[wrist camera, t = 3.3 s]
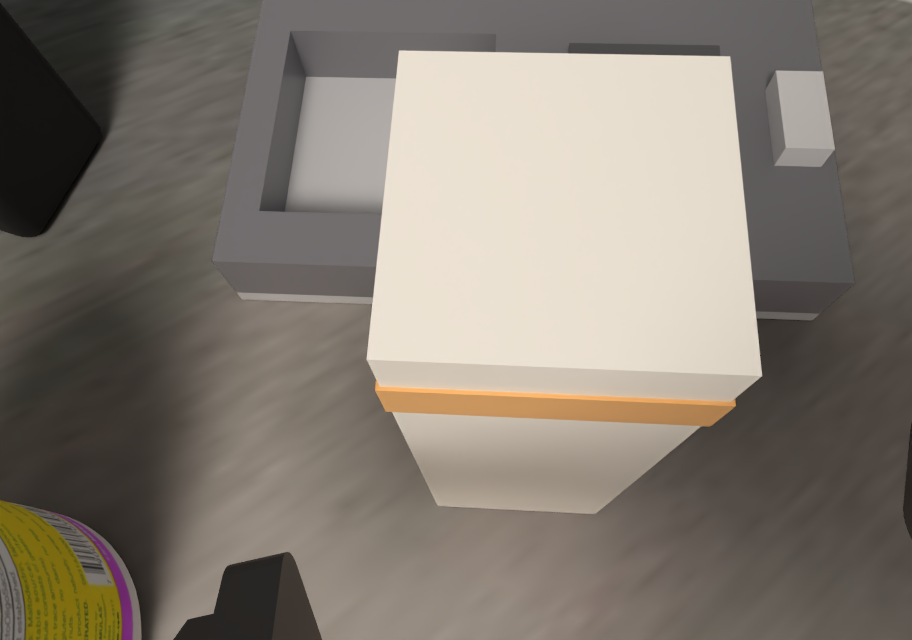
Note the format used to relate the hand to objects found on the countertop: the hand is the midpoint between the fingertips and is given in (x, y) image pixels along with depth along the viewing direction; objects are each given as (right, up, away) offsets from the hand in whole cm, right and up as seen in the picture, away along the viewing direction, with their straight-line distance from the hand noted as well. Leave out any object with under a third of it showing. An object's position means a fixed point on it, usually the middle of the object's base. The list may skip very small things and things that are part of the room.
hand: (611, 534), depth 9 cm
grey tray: (0, +7, +13) cm, 15 cm away
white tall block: (0, 0, +10) cm, 10 cm away
